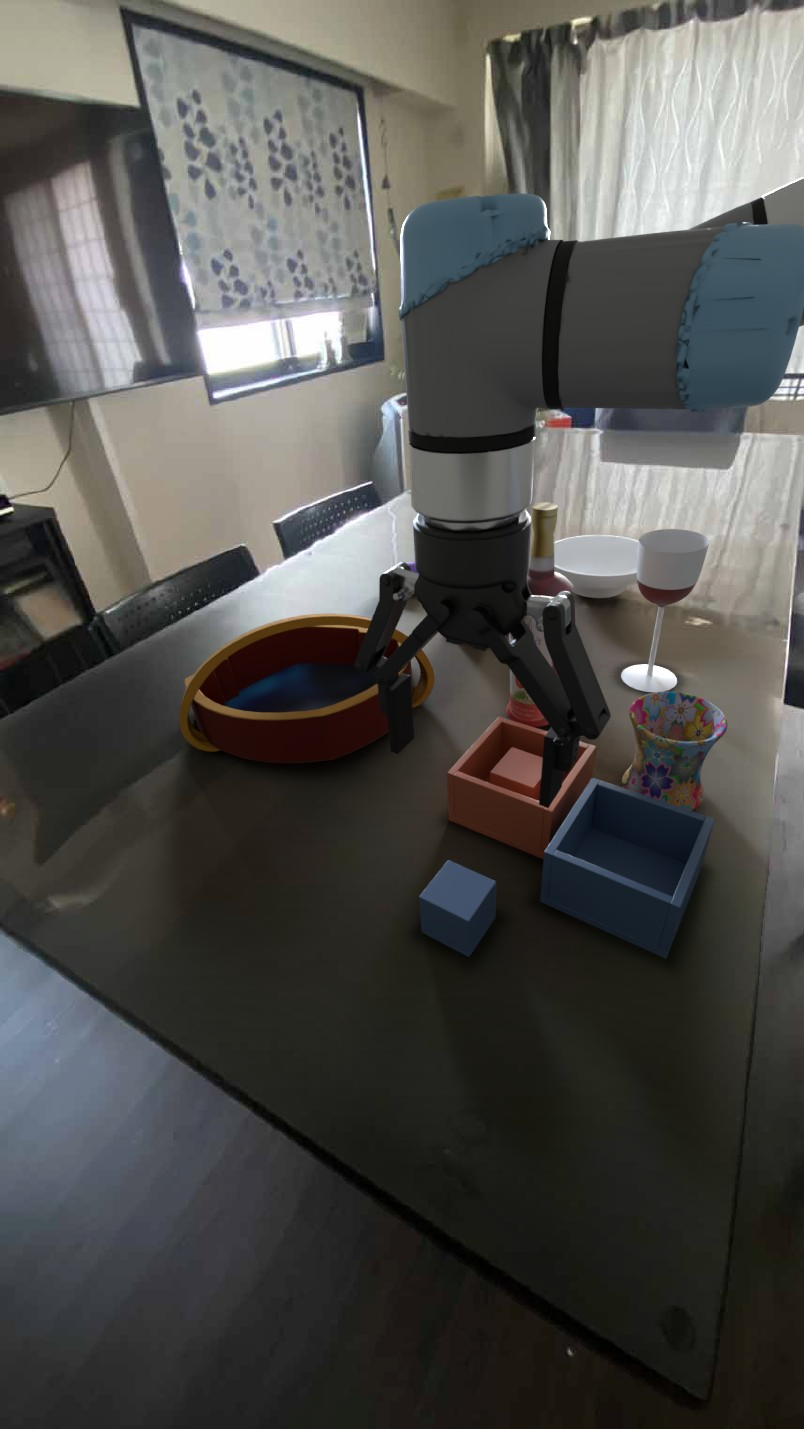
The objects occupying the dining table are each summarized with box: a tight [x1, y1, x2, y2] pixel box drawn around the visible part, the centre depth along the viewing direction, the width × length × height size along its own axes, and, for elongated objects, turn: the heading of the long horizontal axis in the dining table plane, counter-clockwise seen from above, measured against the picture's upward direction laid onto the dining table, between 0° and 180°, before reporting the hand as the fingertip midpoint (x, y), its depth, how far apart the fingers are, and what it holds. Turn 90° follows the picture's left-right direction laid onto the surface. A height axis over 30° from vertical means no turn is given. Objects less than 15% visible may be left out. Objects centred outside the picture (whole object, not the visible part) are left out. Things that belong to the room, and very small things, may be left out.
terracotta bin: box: [446, 716, 597, 860], centre depth 69 cm, size 12×12×7 cm
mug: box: [621, 691, 728, 811], centre depth 69 cm, size 12×9×11 cm
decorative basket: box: [178, 612, 435, 764], centre depth 84 cm, size 34×29×15 cm
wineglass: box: [620, 528, 710, 693], centre depth 85 cm, size 8×9×20 cm
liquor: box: [505, 501, 573, 729], centre depth 76 cm, size 7×7×28 cm
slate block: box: [418, 859, 497, 958], centre depth 57 cm, size 5×5×5 cm
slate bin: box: [539, 777, 716, 959], centre depth 59 cm, size 12×12×7 cm
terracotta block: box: [490, 747, 543, 801], centre depth 69 cm, size 5×5×5 cm
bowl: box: [554, 534, 639, 599], centre depth 113 cm, size 20×20×7 cm
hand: (472, 769), depth 53 cm, fingers open, 13 cm apart
